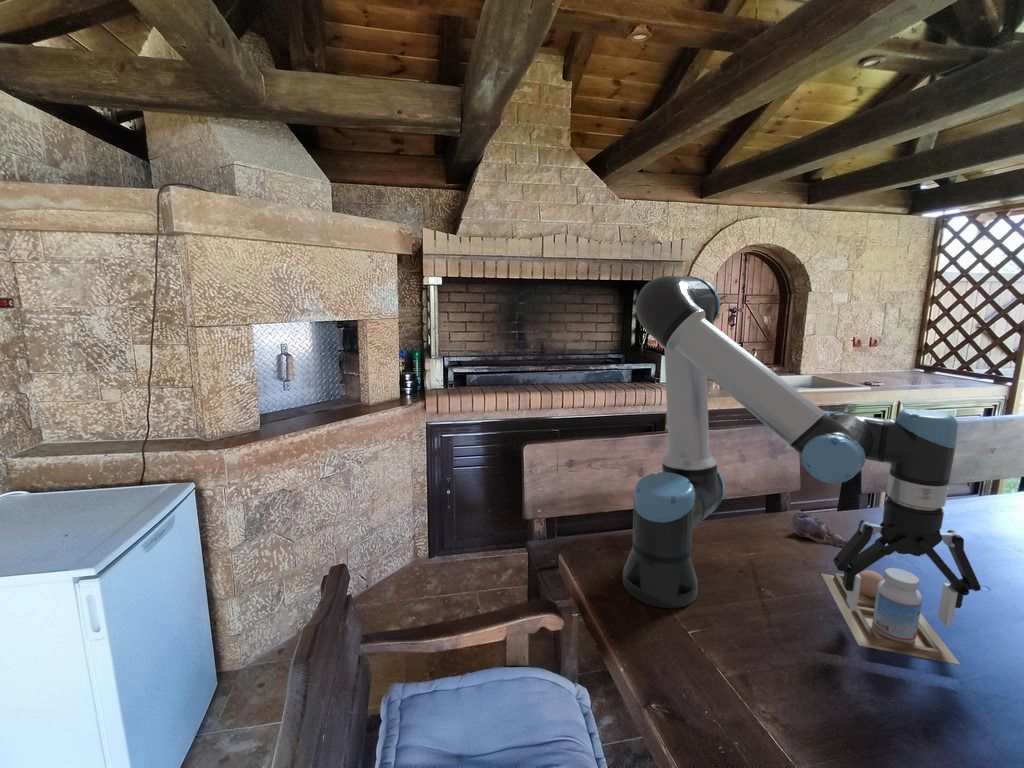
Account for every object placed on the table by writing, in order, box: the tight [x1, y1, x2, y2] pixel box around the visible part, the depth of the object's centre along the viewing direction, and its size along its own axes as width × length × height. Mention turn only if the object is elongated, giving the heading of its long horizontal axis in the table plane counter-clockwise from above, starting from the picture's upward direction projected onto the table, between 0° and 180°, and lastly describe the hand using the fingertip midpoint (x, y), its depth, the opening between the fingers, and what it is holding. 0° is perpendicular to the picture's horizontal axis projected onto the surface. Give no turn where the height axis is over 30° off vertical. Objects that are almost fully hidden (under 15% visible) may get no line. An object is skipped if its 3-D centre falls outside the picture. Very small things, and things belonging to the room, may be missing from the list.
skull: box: [790, 511, 848, 548], centre depth 116 cm, size 12×8×6 cm, turn 31°
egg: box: [858, 569, 885, 598], centre depth 93 cm, size 5×5×5 cm
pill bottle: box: [872, 567, 923, 643], centre depth 82 cm, size 6×6×11 cm
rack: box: [820, 572, 961, 666], centre depth 88 cm, size 14×22×2 cm, turn 161°
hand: (896, 613), depth 83 cm, fingers open, 13 cm apart
